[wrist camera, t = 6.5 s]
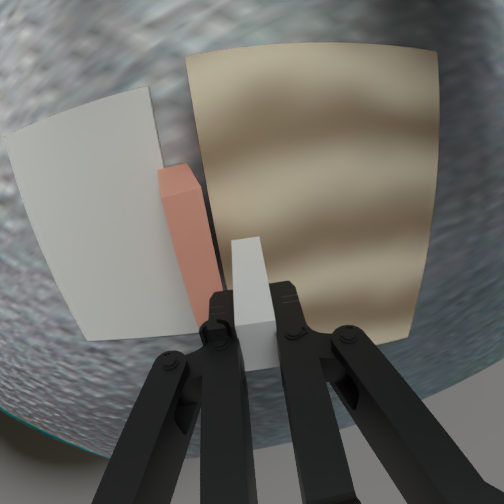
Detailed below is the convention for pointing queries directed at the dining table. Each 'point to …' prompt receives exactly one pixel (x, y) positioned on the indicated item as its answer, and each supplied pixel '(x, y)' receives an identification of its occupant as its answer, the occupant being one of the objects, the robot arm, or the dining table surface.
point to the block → (190, 236)
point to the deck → (325, 171)
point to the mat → (104, 216)
